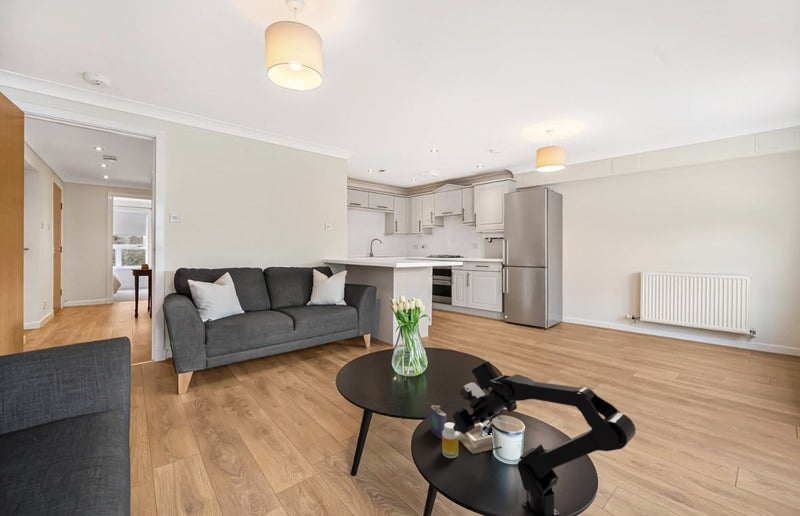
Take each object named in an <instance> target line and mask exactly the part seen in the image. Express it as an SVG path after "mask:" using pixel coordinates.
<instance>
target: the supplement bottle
mask: <svg viewBox="0 0 800 516" xmlns="http://www.w3.org/2000/svg"><path fill="white" fill-rule="evenodd" d="M454 425H455V422H446V423H445V424H444V430H443V432H442V439H441V440H442V442H441V447H442V449H441V451H442V455H443V456H444V457H445V458H448V459H454V458H457V457H458V455H459V439H458V432H459V431H454V429H453V427H454Z"/></svg>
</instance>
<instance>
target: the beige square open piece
mask: <svg viewBox="0 0 800 516" xmlns="http://www.w3.org/2000/svg"><path fill="white" fill-rule="evenodd" d="M483 425H484V423H481V422H478V423H475V428H474V429H473V430H471V431H469V432H468V433H466V434H462V433H461V432H459V431H457V432H458V441H460V443H462V445H463V446H464V447H465V448H466V449H467V450H468V451H469V452H470V453H471V454H472V455H474V454H479V453H483V452H487V451H490V450H493V449H492V433H490V434H491V435H487V436H483V437H482V430H483ZM482 451H483V452H482Z"/></svg>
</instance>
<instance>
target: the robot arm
mask: <svg viewBox="0 0 800 516" xmlns="http://www.w3.org/2000/svg"><path fill="white" fill-rule="evenodd" d="M470 373H471V375H472V377H473V378H474V379H475V381H476V382H477V384H478V385H477V384H476V383H475V382H469V383H466V384H465V385H464V386H462V388H460V393H459V394H460V396H461V397H462V399H464V400H465V401H468V402H469V404H468V405H469V407H470V408H471V409H472V413H471V414H470V413H469V411H468V409H466V408H465V407H462V408H460V409H457V410H455V411H454V412H453V413H452V418H453V420H454V424H455V425H454V427H453V429H454V431H457V432H461V433H462V434H466V433H468V432H469V431H471V430H473V429H474V428H475V424H476V422H479V423H482V424H484V423H485V422H487V421H490V420H494V419H496V418H498V417H499V416H501V415H502V414H503V413H504V409H506V410H507V412H508V413H512V412H514V411H515V410H517V409H518V406H517V401H518V402H522V401H526V400H527V401H528V400H536V401H542V402H548V403H553V404H558V405H565V406H570V407H575V408H576V409H577V410H578V411H580V412H579V413H581V415H582V416H583V418H584V419H585V421H586V423H587V424H588V426H589V427H590V428H591V429H590V430H587V431H585V432H584V433H581V434H578V435H577V436H575V437H573V438H571V439H568V440H566V441H563V442H562V443H559V444H557V445H556V446H554V447H551V448H549V449H546V448H544V447H543V444H542V443H540V444H539V445H538V446H536V447H531V448H530V449H529V450H527V451H526V452H524V453H523V454H522V455H520V456H519V461H518V462H517V469H518V473H519V476H520V480H521V483H522V486H523V490H524V491H526V500H525V501H523V502H522V505H523V507H524V508H525V509H526V510H527V511H528V512H529V513H530V514H531V515H532V516H557V515H558V516H559V514H560V513H559V511H558V510H557V509H556V508H555V492H554V490H553V487H554V486H556V485H557V484H558V481H559V476H558V475H557V473H556V472H555V470H554V469H556V468H558V467H562V466H563V465H566V464H567V463H570V462H573V461H575V460H577V459H579V458H581V457H585V456H586V455H590V454H592V453H595V452H597V451H599V452H612V451H617V450H619V451H620V450H621V449H624V448H625V447H626V446H627V445H628V444H629V442H630V441H631V440H632V439H633V438H634V436H635V435H636V426H635V423H634V421H633V420H632V419H631V418H630V417H629V416H627V415H626V414H624V413H621V411H620V410H618V409H617V407H615V406H614V404H612V403H610V402H608V401H606V400H605V399H603V398H601V397H600V396H599V395H598V394H596V393H595V391H593V390H592V389H590V388H589V387H585V386H580V387H578V386H570V385H563V384H555V383H547V382H538V381H536V380H533V379H531V378H530V377H527V376H525V375H521V374H513V375H505V374H503V375H501V376H498V374H497V372H496V371H495V369H494V368H493V367H492V364H491V363H490V361H489V360H487V361H485V362H483V363H481V364H480V365H478V366H477V367H473V369H471V371H470ZM484 390H486V391H488V393H484ZM603 417H604V418H603Z"/></svg>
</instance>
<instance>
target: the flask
mask: <svg viewBox="0 0 800 516" xmlns="http://www.w3.org/2000/svg"><path fill="white" fill-rule="evenodd" d="M445 423H447V413H445V412H444V411H442V410H441V405H435V404H433V405H431V406H430V432H431V433H432V434H433V435H435V436H436V437H437V438H439V439H440V440H442V432H443V430H444V424H445Z"/></svg>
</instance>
